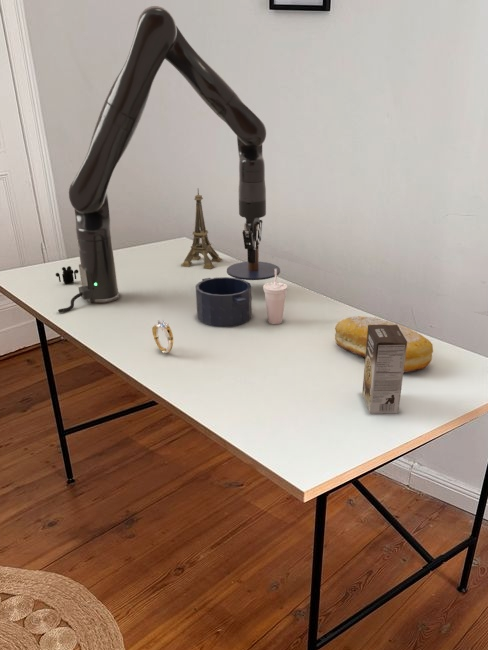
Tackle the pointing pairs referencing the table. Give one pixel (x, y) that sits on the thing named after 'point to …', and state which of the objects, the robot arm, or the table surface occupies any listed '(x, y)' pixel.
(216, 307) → the pot
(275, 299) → the smoothie
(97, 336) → the table surface
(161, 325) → the ring
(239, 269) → the lid
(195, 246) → the eiffel tower
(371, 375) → the coffee box
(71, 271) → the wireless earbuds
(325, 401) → the table surface
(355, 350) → the bread
